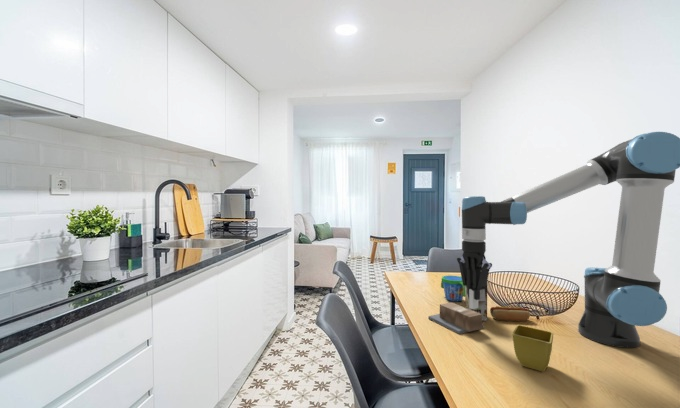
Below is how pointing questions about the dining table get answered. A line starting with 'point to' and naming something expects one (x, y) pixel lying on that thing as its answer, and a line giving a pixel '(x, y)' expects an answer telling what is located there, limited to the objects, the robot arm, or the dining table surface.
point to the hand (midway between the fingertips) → (473, 307)
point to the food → (510, 313)
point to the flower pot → (532, 347)
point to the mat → (447, 324)
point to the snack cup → (453, 288)
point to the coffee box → (481, 303)
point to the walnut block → (461, 316)
